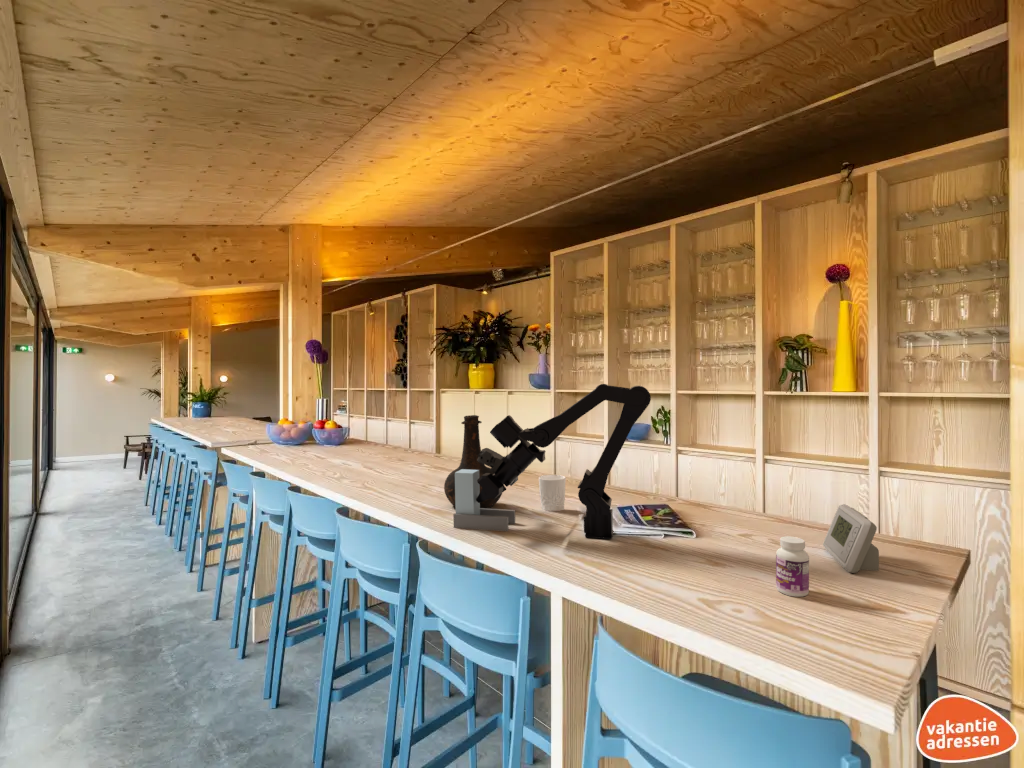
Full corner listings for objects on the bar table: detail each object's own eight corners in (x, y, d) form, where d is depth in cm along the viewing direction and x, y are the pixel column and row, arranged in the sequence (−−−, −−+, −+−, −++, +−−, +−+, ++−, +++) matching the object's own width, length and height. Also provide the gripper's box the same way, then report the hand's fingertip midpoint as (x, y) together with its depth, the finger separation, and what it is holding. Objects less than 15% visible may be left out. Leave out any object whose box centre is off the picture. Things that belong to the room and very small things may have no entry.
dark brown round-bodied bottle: (502, 515, 153) (500, 417, 153) (440, 515, 154) (438, 418, 153) (504, 500, 171) (503, 412, 171) (449, 500, 172) (447, 413, 171)
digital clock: (822, 547, 122) (822, 501, 121) (869, 553, 118) (869, 505, 117) (829, 572, 107) (828, 519, 107) (883, 579, 103) (883, 524, 103)
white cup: (566, 507, 160) (565, 474, 160) (566, 514, 153) (565, 480, 152) (539, 507, 161) (539, 474, 161) (538, 514, 153) (537, 479, 153)
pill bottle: (771, 591, 98) (771, 539, 98) (781, 583, 102) (781, 533, 102) (803, 600, 94) (803, 546, 94) (813, 591, 98) (813, 539, 98)
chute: (515, 526, 142) (515, 510, 142) (507, 534, 135) (507, 517, 135) (464, 522, 146) (464, 507, 146) (453, 530, 139) (453, 514, 139)
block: (480, 521, 144) (479, 469, 143) (473, 527, 139) (472, 473, 138) (462, 520, 145) (461, 469, 145) (455, 526, 140) (454, 472, 140)
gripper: (506, 434, 148) (469, 472, 151) (484, 442, 130) (443, 486, 133) (534, 463, 146) (496, 501, 149) (516, 476, 128) (473, 519, 131)
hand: (477, 501), depth 141 cm, fingers closed, pressing on block
